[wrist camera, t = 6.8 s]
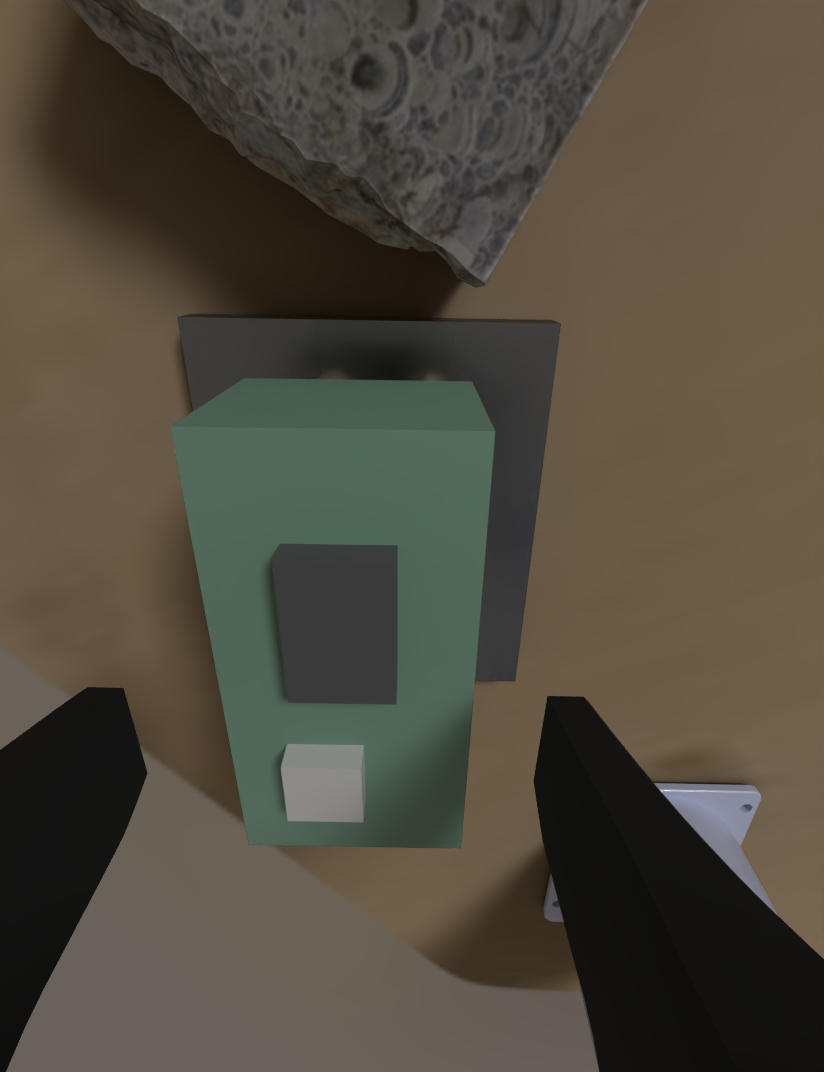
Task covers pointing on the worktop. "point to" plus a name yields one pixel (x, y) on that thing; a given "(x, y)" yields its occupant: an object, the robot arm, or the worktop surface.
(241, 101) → the geological specimen
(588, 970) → the robot arm
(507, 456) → the plate
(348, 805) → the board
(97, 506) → the worktop surface
